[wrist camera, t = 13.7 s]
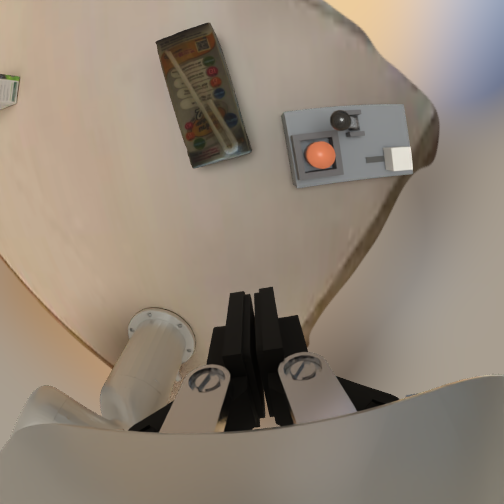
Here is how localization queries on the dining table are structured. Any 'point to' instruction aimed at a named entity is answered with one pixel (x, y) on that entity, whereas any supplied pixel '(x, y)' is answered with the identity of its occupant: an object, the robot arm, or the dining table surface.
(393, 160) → the slider
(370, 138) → the panel
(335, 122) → the lever
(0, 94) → the syrup box
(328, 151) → the button
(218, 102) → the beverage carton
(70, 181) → the dining table surface
